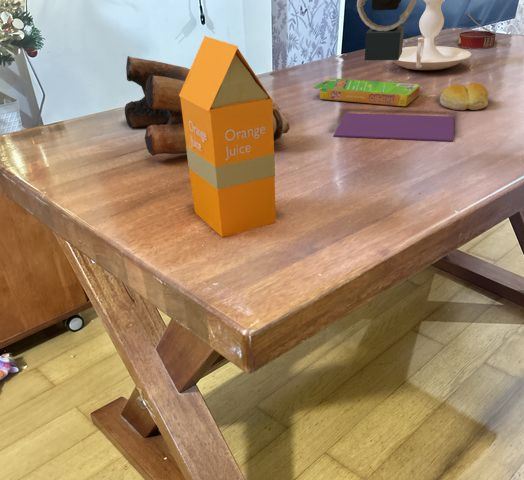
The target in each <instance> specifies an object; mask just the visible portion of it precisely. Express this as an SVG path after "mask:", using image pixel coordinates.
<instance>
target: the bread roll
mask: <svg viewBox="0 0 524 480" xmlns="http://www.w3.org/2000/svg"><path fill="white" fill-rule="evenodd" d="M488 101H489V91H488V89H487V88H486V86H484V85H483V84H481V83H478V82H471V83H468V84H466V85H465V86H464V85H462V84H459V83H455V84H451V85H449V86H447V87H446V88H445V89H443V90H442V91H441V94H440V96H439V103H440V105H441V106H443V107H444V108H446V109H450V110H454V111H466V110H467V109H468V110H470V111H479V110H483V109H485V108H487V107H488V105H489V103H488Z"/></svg>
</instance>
